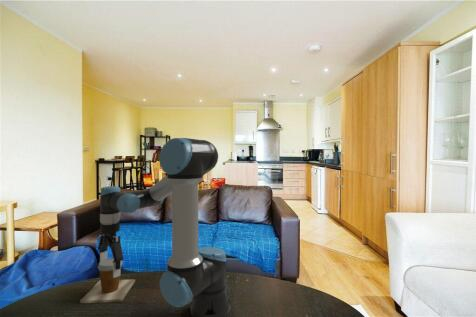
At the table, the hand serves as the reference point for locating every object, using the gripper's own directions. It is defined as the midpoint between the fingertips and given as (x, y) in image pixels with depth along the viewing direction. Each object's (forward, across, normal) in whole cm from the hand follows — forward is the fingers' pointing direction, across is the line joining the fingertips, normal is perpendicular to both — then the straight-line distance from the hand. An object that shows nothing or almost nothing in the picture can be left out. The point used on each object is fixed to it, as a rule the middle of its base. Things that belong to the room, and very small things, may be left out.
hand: (109, 271), depth 105 cm
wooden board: (+9, 0, 0) cm, 9 cm away
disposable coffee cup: (+8, 0, 0) cm, 8 cm away
